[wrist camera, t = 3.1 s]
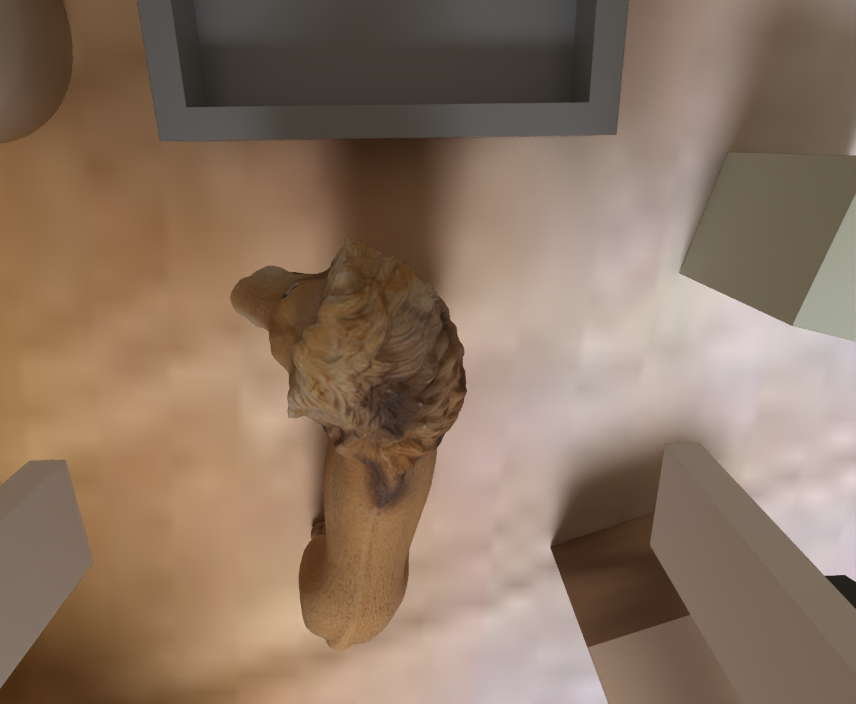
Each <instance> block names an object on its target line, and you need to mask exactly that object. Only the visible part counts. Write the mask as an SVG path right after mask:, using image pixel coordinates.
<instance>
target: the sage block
mask: <svg viewBox="0 0 856 704" xmlns="http://www.w3.org/2000/svg"><path fill="white" fill-rule="evenodd" d="M680 274H682V275H684V276H686V277H688V278H690V279H693V280H695V281H697V282H699V283H701V284H703V285H706V286H708V287H710V288H712V289H714V290H716V291H718V292H721V293H723V294H725V295H727V296H729V297H731V298H733V299H736V300H738V301H740V302H742V303H744V304H746V305H749V306H751V307H753V308H755V309H757V310H759V311H761V312H764V313H766V314H768V315H770V316H772V317H774V318H776V319H779V320H781V321H783V322H785V323H787V324H789V325H792V326H795V327H799V328H803V329H807V330H811V331H815V332H819V333H823V334H827V335H831V336H835V337H839V338H843V339H847V340H851V341H855V342H856V156H848V155H812V154H775V153H739V152H728V153H727V156H726V158H725V161H724V163H723V165H722V168H721V170H720V173H719V175H718V178H717V180H716V183H715V185H714V188H713V190H712V193H711V195H710V198H709V200H708V203H707V205H706V208H705V210H704V213H703V215H702V218H701V220H700V223H699V225H698V228H697V230H696V233H695V235H694V238H693V240H692V243H691V245H690V248H689V250H688V253H687V255H686V258H685V260H684V263H683V265H682V268H681V270H680Z"/></svg>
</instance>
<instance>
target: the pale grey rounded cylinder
mask: <svg viewBox="0 0 856 704" xmlns="http://www.w3.org/2000/svg"><path fill="white" fill-rule="evenodd" d="M72 61H73V57H72V40H71V33H70V28H69V24H68V20H67V16H66V13H65V10H64V7H63V5H62V2H61V0H0V143H6V142H10V141H14V140H18V139H20V138H23V137H25V136H28V135H29V134H31V133H33V132H34V131H36V130H38V129H39V128H40V127H41V126H42V125H44V124H45V123H46V122H47V121H48V120H49V119H50V118H51V117H52V115H53V114H54V113H55V112H56V110H57V109H58V107H59V105H60V104H61V102H62V101H63V98H64V96H65V93H66V91H67V88H68V85H69V81H70V77H71V70H72Z"/></svg>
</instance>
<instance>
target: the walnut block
mask: <svg viewBox="0 0 856 704" xmlns="http://www.w3.org/2000/svg"><path fill="white" fill-rule="evenodd" d="M654 514H655V512H654V513H651V514H648V515H645V516H642V517H639V518H636V519H633V520H630V521H627V522H624V523H621V524H618V525H615V526H612V527H609V528H606V529H603V530H600V531H597V532H594V533H591V534H588V535H585V536H582V537H579V538H576V539H573V540H570V541H567V542H564V543H561V544H558V545H555V546H552V547H550V548H551V550H552V553H553V556H554V558H555V561H556V564H557V567H558V569H559V572H560V575H561V577H562V580H563V583H564V585H565V588H566V591H567V594H568V596H569V599H570V602H571V604H572V607H573V610H574V613H575V615H576V618H577V621H578V623H579V626H580V629H581V631H582V634H583V637H584V640H585V642H586V645H587V648H588V650H589V653H590V656H591V658H592V661H593V664H594V666H595V669H596V672H597V674H598V677H599V680H600V682H601V685H602V688H603V690H604V693H605V696H606V699H607V701H608V704H743V703H742V701H741V700H740V698H739V696H738V695H737V693H736V691H735V689H734V688H733V686H732V684H731V683H730V681H729V679H728V678H727V676H726V674H725V672H724V671H723V669H722V667H721V666H720V664H719V662H718V660H717V659H716V657H715V655H714V654H713V652H712V650H711V648H710V647H709V645H708V643H707V642H706V640H705V638H704V637H703V635H702V633H701V631H700V630H699V628H698V626H697V625H696V623H695V621H694V619H693V618H692V616H691V614H690V613H689V611H688V609H687V607H686V606H685V604H684V602H683V601H682V599H681V597H680V596H679V594H678V592H677V590H676V589H675V587H674V585H673V584H672V582H671V580H670V578H669V577H668V575H667V573H666V572H665V570H664V568H663V566H662V565H661V563H660V561H659V560H658V558H657V556H656V555H655V553H654V551H653V549H652V548H651V546H650V540H651V534H652V527H653V521H654Z"/></svg>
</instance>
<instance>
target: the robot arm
mask: <svg viewBox="0 0 856 704" xmlns="http://www.w3.org/2000/svg"><path fill="white" fill-rule="evenodd" d="M650 546H651V548H652V549H653V551H654V553H655V555H656V556H657V558H658V560H659V561H660V563H661V565H662V566H663V568H664V570H665V572H666V573H667V575H668V577H669V578H670V580H671V582H672V584H673V585H674V587H675V589H676V590H677V592H678V594H679V596H680V597H681V599H682V601H683V602H684V604H685V606H686V607H687V609H688V611H689V613H690V614H691V616H692V618H693V619H694V621H695V623H696V625H697V626H698V628H699V630H700V631H701V633H702V635H703V637H704V638H705V640H706V642H707V643H708V645H709V647H710V648H711V650H712V652H713V654H714V655H715V657H716V659H717V660H718V662H719V664H720V666H721V667H722V669H723V671H724V672H725V674H726V676H727V678H728V679H729V681H730V683H731V684H732V686H733V688H734V689H735V691H736V693H737V695H738V696H739V698H740V700H741V701H742V703H743V704H856V582H855V581H853V580H852V579H850V578H848V577H847V576H845V575H836V576H824V575H823V574H822V573H821V572H820V571H819V570H818V568H817V567H816V566H815V565H814V564H813V563H812V562H811V561H810V560H809V559H808V558H807V557H806V556H805V555H804V554H803V553H802V551H801V550H800V549H799V548H798V547H797V546H796V545H795V544H794V543H793V542H792V541H791V540H790V539H789V538H788V537H787V535H786V534H785V533H784V532H783V531H782V530H781V529H780V528H779V527H778V526H777V525H776V524H775V523H774V522H773V521H772V520H771V518H770V517H769V516H768V515H767V514H766V513H765V512H764V511H763V510H762V509H761V508H760V507H759V506H758V505H757V504H756V502H755V501H754V500H753V499H752V498H751V497H750V496H749V495H748V494H747V493H746V492H745V491H744V490H743V489H742V488H741V486H740V485H739V484H738V483H737V482H736V481H735V480H734V479H733V478H732V477H731V476H730V475H729V474H728V473H727V472H726V471H725V469H724V468H723V467H722V466H721V465H720V464H719V463H718V462H717V461H716V460H715V459H714V458H713V457H712V456H711V455H710V453H709V452H708V451H707V450H706V449H705V448H704V447H703V446H702V445H701V444H700V443H665V448H664V454H663V461H662V468H661V474H660V481H659V488H658V494H657V501H656V507H655V514H654V521H653V527H652V534H651V540H650ZM92 564H93V559H92V556H91V552H90V548H89V545H88V541H87V537H86V534H85V530H84V526H83V522H82V519H81V515H80V511H79V508H78V504H77V500H76V497H75V493H74V489H73V486H72V482H71V478H70V475H69V471H68V467H67V464H66V460H42V461H29V462H28V463H26V464H25V465H24V466H23V467H22V468H21V469H19V470H18V471H17V472H16V473H15V474H14V475H13V476H11V477H10V478H9V479H8V480H7V481H6V482H4V483H3V484H2V485H1V486H0V688H1V687H2V686H3V684H4V683H5V682H6V680H7V679H8V678H9V676H10V675H11V673H12V672H13V671H14V669H15V668H16V667H17V665H18V664H19V663H20V661H21V660H22V659H23V657H24V656H25V654H26V653H27V652H28V650H29V649H30V648H31V646H32V645H33V644H34V642H35V641H36V640H37V638H38V637H39V635H40V634H41V633H42V631H43V630H44V629H45V627H46V626H47V625H48V623H49V622H50V621H51V619H52V618H53V616H54V615H55V614H56V612H57V611H58V610H59V608H60V607H61V606H62V604H63V603H64V602H65V600H66V599H67V597H68V596H69V595H70V593H71V592H72V591H73V589H74V588H75V587H76V585H77V584H78V583H79V581H80V580H81V578H82V577H83V576H84V574H85V573H86V572H87V570H88V569H89V568H90V566H91V565H92Z"/></svg>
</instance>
